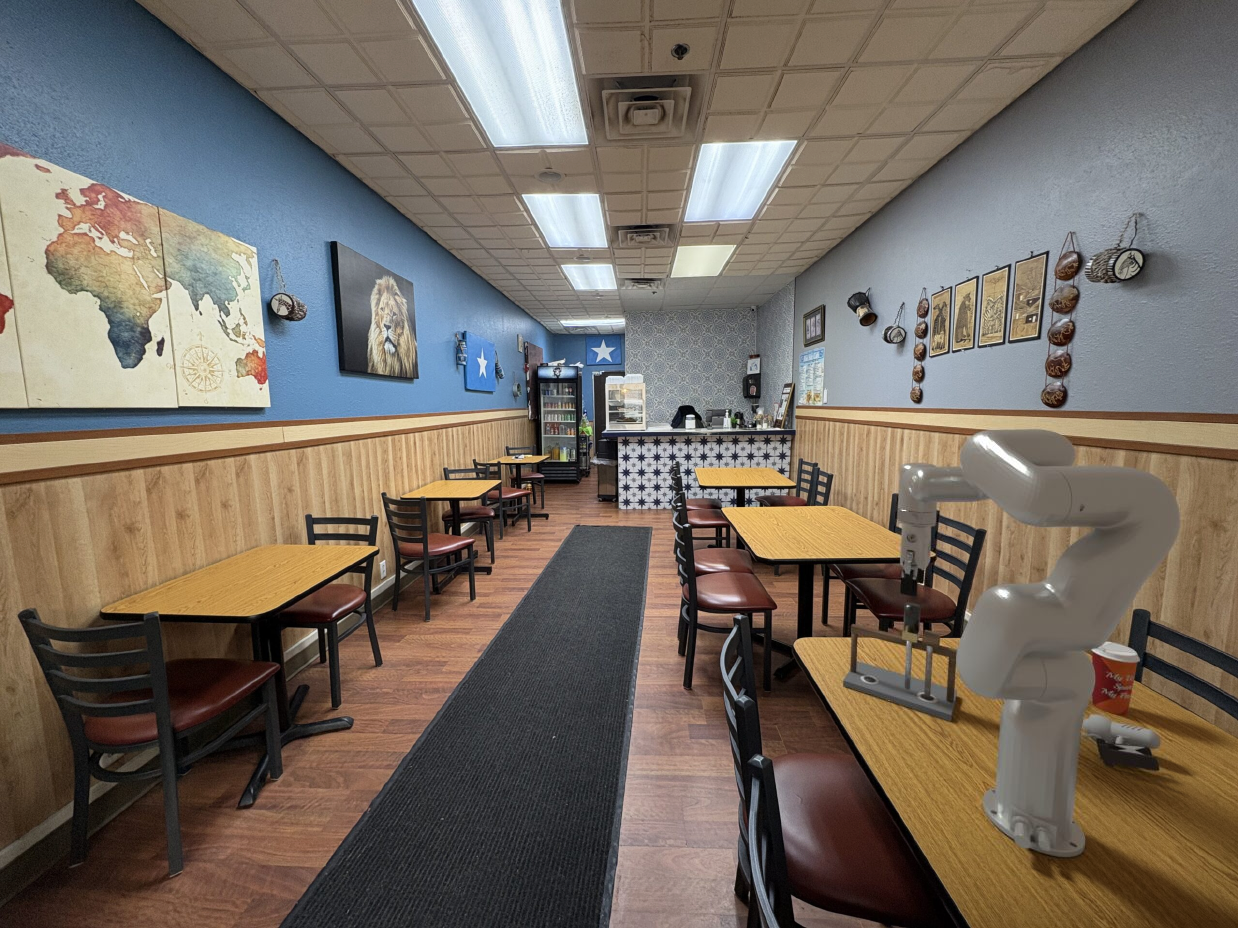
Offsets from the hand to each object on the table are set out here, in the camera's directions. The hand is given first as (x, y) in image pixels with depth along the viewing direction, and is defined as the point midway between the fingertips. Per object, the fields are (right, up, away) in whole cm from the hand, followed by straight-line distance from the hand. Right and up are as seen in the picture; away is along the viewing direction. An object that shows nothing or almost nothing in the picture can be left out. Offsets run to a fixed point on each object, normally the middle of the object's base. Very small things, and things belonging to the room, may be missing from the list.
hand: (912, 588), depth 112 cm
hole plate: (-1, -26, +3) cm, 26 cm away
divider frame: (-1, -24, +3) cm, 24 cm away
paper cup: (+42, -26, -4) cm, 50 cm away
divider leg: (0, -24, +2) cm, 24 cm away
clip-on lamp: (+26, -28, -16) cm, 41 cm away
